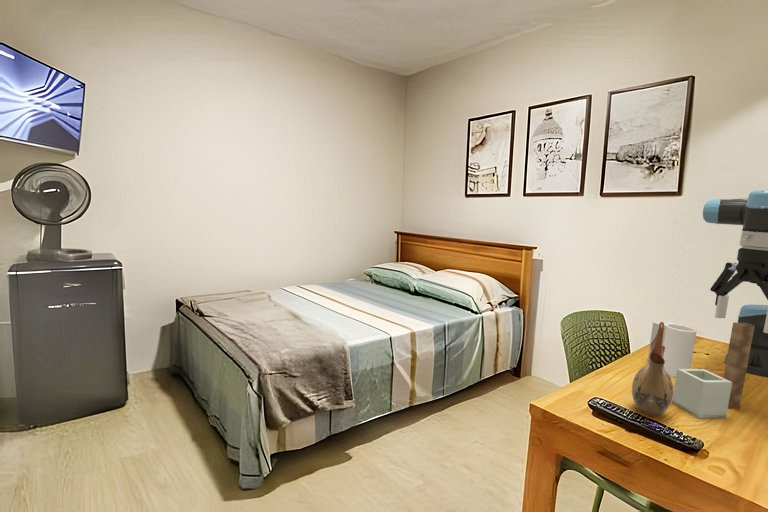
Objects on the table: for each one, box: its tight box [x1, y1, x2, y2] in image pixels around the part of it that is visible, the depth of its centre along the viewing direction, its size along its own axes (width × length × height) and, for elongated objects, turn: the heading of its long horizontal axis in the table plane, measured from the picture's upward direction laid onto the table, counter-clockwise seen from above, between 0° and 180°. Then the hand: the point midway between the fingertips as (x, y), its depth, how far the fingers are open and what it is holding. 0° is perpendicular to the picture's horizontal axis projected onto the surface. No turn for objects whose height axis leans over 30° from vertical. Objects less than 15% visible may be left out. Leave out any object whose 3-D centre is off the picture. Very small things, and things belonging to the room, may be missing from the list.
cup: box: [663, 323, 697, 378], centre depth 137 cm, size 8×8×16 cm
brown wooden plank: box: [722, 322, 755, 409], centre depth 115 cm, size 4×2×24 cm, turn 98°
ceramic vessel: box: [631, 321, 674, 418], centre depth 108 cm, size 16×9×25 cm, turn 146°
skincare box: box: [647, 320, 681, 362], centre depth 145 cm, size 8×6×15 cm
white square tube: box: [671, 368, 732, 419], centre depth 112 cm, size 8×8×10 cm
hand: (743, 325), depth 113 cm, fingers open, 13 cm apart
